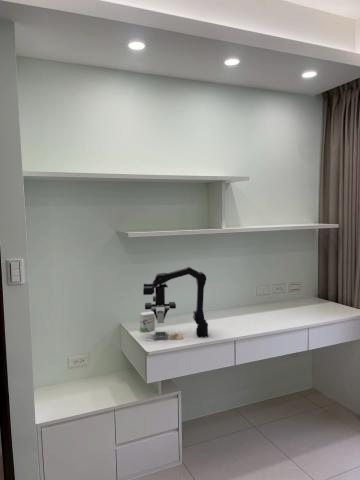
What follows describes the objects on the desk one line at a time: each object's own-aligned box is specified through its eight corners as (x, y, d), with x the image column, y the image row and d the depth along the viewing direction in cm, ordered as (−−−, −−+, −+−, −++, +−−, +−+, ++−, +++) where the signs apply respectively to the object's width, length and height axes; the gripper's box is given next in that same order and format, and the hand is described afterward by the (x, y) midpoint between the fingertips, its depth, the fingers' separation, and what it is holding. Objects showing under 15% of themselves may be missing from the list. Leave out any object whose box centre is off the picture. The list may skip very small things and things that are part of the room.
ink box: (142, 332, 237) (142, 314, 236) (140, 330, 241) (139, 312, 240) (155, 330, 241) (154, 312, 240) (152, 328, 245) (151, 311, 244)
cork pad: (181, 333, 234) (181, 333, 234) (183, 339, 225) (183, 338, 225) (167, 334, 233) (167, 334, 233) (168, 339, 224) (168, 339, 224)
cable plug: (163, 320, 230) (163, 309, 229) (163, 322, 225) (163, 311, 224) (157, 320, 229) (156, 309, 229) (157, 323, 224) (157, 311, 224)
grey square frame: (166, 334, 233) (166, 331, 232) (167, 339, 224) (167, 336, 224) (154, 335, 232) (154, 332, 232) (154, 340, 223) (154, 337, 223)
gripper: (174, 291, 234) (174, 315, 236) (144, 291, 232) (145, 316, 234) (175, 295, 223) (176, 320, 225) (144, 296, 221) (145, 321, 223)
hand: (160, 319), depth 227 cm, fingers closed on cable plug, 4 cm apart
